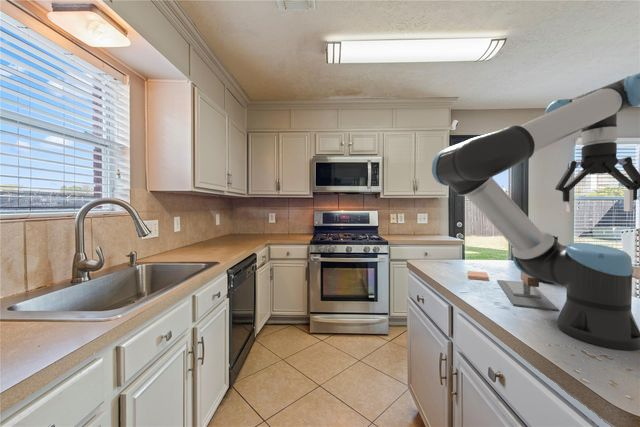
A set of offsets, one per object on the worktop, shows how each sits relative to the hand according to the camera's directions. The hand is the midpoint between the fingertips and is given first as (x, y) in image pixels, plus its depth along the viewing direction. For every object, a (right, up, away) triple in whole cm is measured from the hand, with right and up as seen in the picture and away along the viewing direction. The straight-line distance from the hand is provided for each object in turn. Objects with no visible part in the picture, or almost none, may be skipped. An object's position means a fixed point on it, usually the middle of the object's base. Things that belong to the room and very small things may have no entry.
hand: (597, 211), depth 82 cm
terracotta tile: (-15, -30, +36) cm, 50 cm away
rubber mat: (-10, -31, +17) cm, 37 cm away
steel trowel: (-11, -31, +16) cm, 36 cm away
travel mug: (+11, -31, +31) cm, 45 cm away
